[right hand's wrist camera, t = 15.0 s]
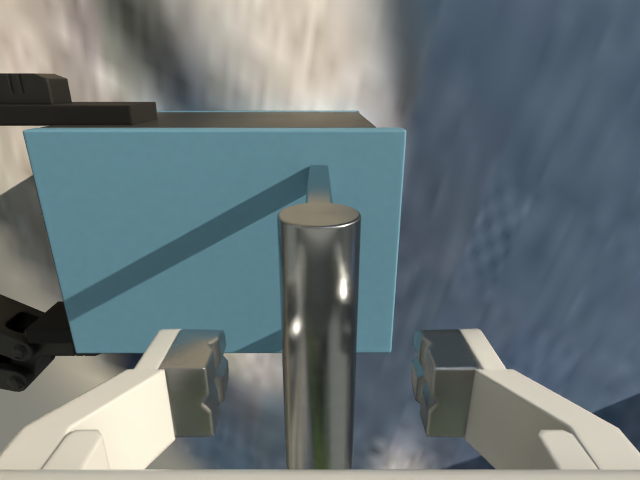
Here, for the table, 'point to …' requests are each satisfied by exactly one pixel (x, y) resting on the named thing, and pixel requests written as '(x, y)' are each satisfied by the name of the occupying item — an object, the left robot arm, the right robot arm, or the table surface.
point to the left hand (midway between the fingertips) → (160, 226)
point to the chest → (246, 120)
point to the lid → (233, 251)
